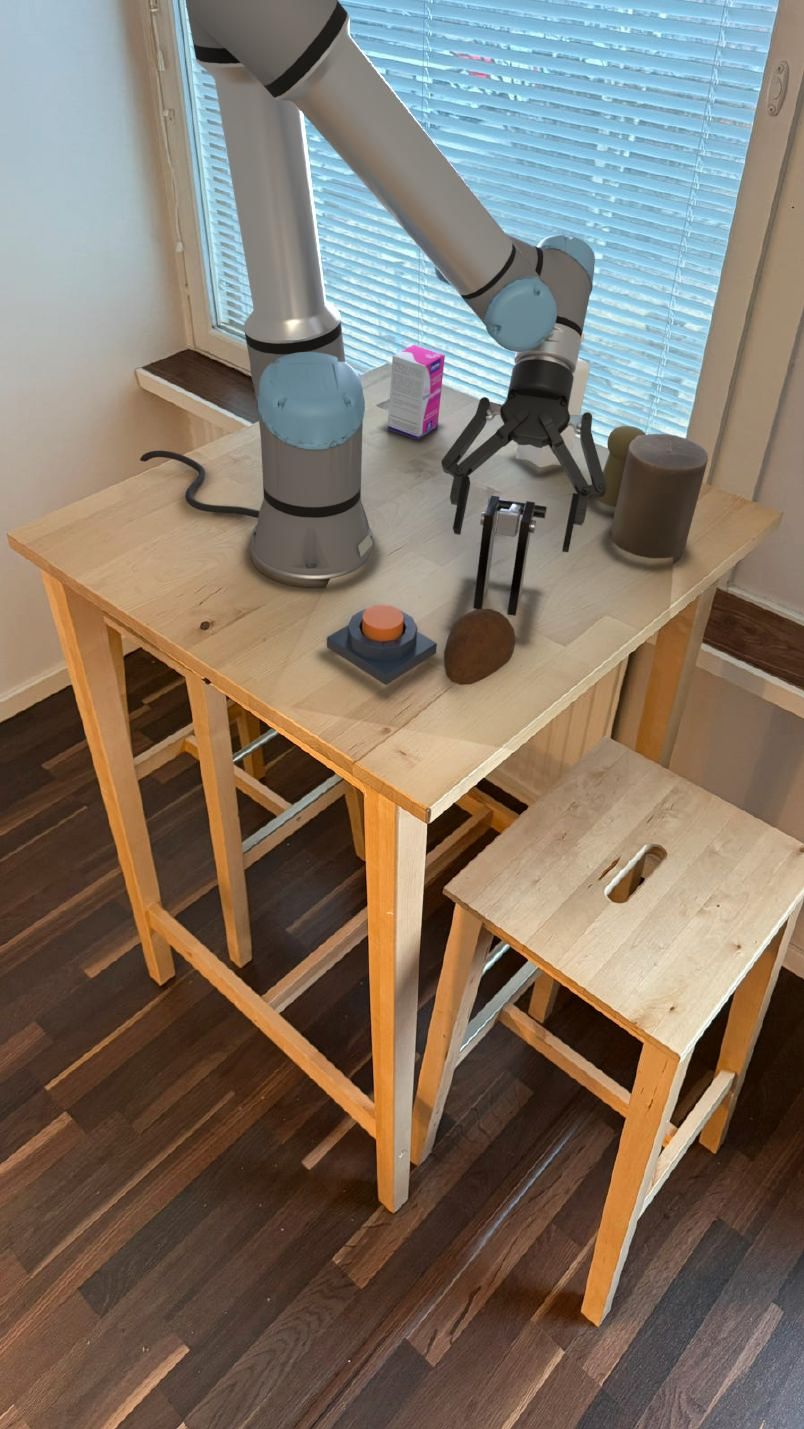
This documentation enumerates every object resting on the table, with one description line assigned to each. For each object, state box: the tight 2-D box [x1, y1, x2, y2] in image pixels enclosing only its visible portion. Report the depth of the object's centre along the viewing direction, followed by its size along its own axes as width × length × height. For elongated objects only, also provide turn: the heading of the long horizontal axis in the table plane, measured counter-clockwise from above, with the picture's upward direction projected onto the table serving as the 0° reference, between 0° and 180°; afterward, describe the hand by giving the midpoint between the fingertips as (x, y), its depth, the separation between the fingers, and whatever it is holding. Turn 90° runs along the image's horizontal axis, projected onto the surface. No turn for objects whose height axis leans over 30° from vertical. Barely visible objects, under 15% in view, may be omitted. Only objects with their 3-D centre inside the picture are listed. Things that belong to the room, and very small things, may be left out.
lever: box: [487, 497, 548, 538], centre depth 118 cm, size 13×7×2 cm, turn 168°
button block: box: [326, 608, 438, 686], centre depth 112 cm, size 9×8×4 cm
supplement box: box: [386, 344, 446, 440], centre depth 152 cm, size 6×6×12 cm
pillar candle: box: [609, 433, 709, 564], centre depth 128 cm, size 10×10×15 cm
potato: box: [443, 608, 516, 686], centre depth 111 cm, size 7×10×7 cm
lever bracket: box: [472, 495, 537, 617], centre depth 117 cm, size 10×8×14 cm
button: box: [362, 604, 404, 642], centre depth 110 cm, size 4×4×2 cm
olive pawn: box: [596, 425, 647, 507], centre depth 138 cm, size 6×6×11 cm
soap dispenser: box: [516, 331, 591, 468], centre depth 142 cm, size 6×6×22 cm
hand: (510, 540), depth 123 cm, fingers open, 13 cm apart
